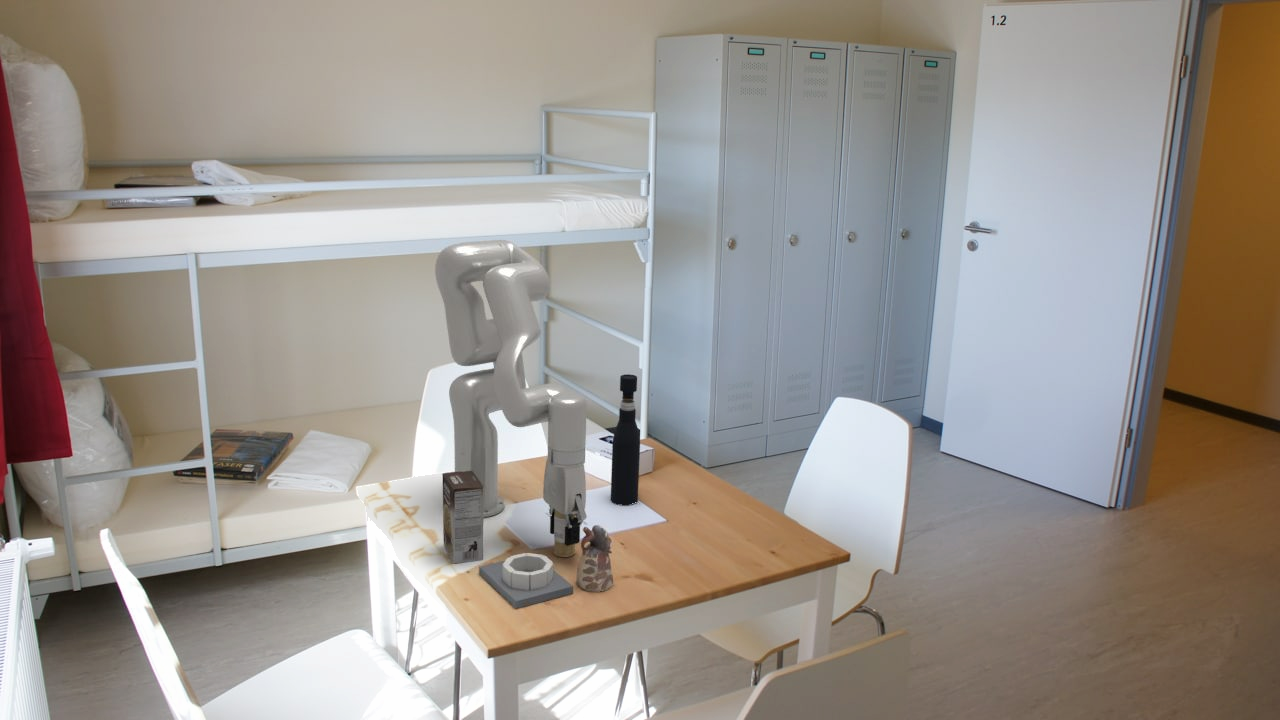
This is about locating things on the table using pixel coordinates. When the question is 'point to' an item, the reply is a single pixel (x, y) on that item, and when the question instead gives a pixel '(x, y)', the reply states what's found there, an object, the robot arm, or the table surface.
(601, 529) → the figurine
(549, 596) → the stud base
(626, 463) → the wine bottle
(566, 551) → the sprinkles bottle
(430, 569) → the table surface
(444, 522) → the coffee box
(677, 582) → the table surface
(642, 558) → the table surface
